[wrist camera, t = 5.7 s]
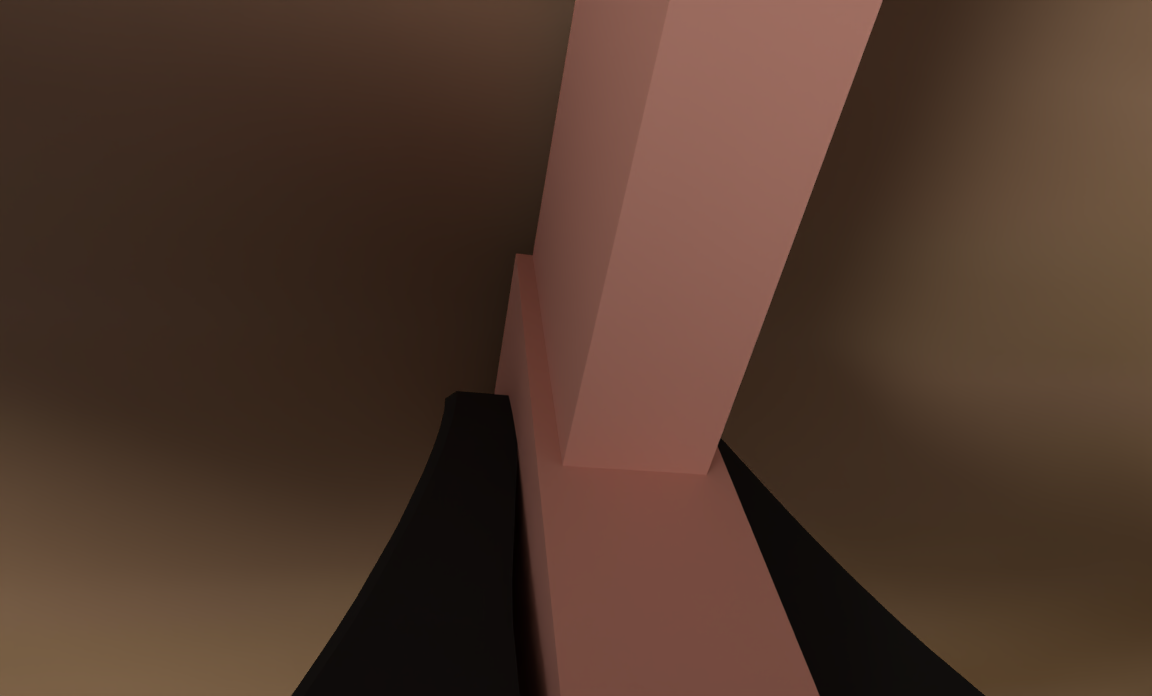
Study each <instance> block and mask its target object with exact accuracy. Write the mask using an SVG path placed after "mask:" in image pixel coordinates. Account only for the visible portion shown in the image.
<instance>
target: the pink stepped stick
mask: <svg viewBox="0 0 1152 696" xmlns="http://www.w3.org/2000/svg"><path fill="white" fill-rule="evenodd" d="M882 1H883V0H575V6H574V12H573V18H572V24H571V30H570V36H569V42H568V48H567V54H566V59H565V65H564V71H563V77H562V83H561V89H560V95H559V101H558V107H557V113H556V119H555V125H554V131H553V137H552V143H551V149H550V155H549V161H548V167H547V173H546V179H545V185H544V191H543V196H542V202H541V208H540V214H539V220H538V226H537V232H536V238H535V244H534V250H533V255H526V254H518V253H516V257H515V263H514V270H513V276H512V283H511V289H510V296H509V302H508V309H507V315H506V322H505V328H504V335H503V341H502V348H501V354H500V360H499V367H498V373H497V380H496V386H495V393H494V394H498V395H509V399H510V404H511V408H512V413H513V419H514V425H515V431H516V438H517V445H518V446H517V473H516V499H515V524H514V549H513V574H512V600H513V629H514V639H515V650H516V660H517V671H518V681H519V691H520V696H820V695H819V693H818V691H817V688H816V686H815V683H814V681H813V678H812V676H811V673H810V671H809V669H808V666H807V664H806V661H805V659H804V656H803V654H802V651H801V649H800V647H799V644H798V642H797V639H796V637H795V634H794V632H793V629H792V627H791V625H790V622H789V620H788V617H787V615H786V612H785V610H784V607H783V605H782V603H781V600H780V598H779V595H778V593H777V590H776V588H775V585H774V583H773V581H772V578H771V576H770V573H769V571H768V568H767V566H766V563H765V561H764V559H763V556H762V554H761V551H760V549H759V546H758V544H757V541H756V539H755V537H754V534H753V532H752V529H751V527H750V524H749V522H748V519H747V517H746V515H745V512H744V510H743V507H742V505H741V502H740V500H739V497H738V495H737V493H736V490H735V488H734V485H733V483H732V480H731V478H730V475H729V473H728V471H727V468H726V466H725V463H724V461H723V458H722V456H721V453H720V451H719V449H718V443H719V440H720V438H721V435H722V432H723V430H724V427H725V424H726V422H727V419H728V416H729V413H730V411H731V408H732V405H733V403H734V400H735V397H736V395H737V392H738V389H739V387H740V384H741V381H742V378H743V376H744V373H745V370H746V368H747V365H748V362H749V360H750V357H751V354H752V351H753V349H754V346H755V343H756V341H757V338H758V335H759V333H760V330H761V327H762V325H763V322H764V319H765V316H766V314H767V311H768V308H769V306H770V303H771V300H772V298H773V295H774V292H775V289H776V287H777V284H778V281H779V279H780V276H781V273H782V271H783V268H784V265H785V262H786V260H787V257H788V254H789V252H790V249H791V246H792V244H793V241H794V238H795V236H796V233H797V230H798V227H799V225H800V222H801V219H802V217H803V214H804V211H805V209H806V206H807V203H808V200H809V198H810V195H811V192H812V190H813V187H814V184H815V182H816V179H817V176H818V174H819V171H820V168H821V165H822V163H823V160H824V157H825V155H826V152H827V149H828V147H829V144H830V141H831V138H832V136H833V133H834V130H835V128H836V125H837V122H838V120H839V117H840V114H841V111H842V109H843V106H844V103H845V101H846V98H847V95H848V93H849V90H850V87H851V85H852V82H853V79H854V76H855V74H856V71H857V68H858V66H859V63H860V60H861V58H862V55H863V52H864V49H865V47H866V44H867V41H868V39H869V36H870V33H871V31H872V28H873V25H874V23H875V20H876V17H877V14H878V12H879V9H880V6H881V4H882Z"/></svg>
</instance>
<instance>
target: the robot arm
mask: <svg viewBox="0 0 1152 696" xmlns="http://www.w3.org/2000/svg"><path fill="white" fill-rule="evenodd" d="M517 446H518V445H517V438H516V431H515V425H514V419H513V413H512V408H511V404H510V399H509V395H498V394H486V393H473V392H460V391H456V392H455V393H453V394H452V395H450V396H449V397H447V398H446V399H445V407H444V414H443V418H442V422H441V426H440V429H439V433H438V436H437V439H436V441H435V444H434V447H433V450H432V452H431V455H430V457H429V460H428V462H427V464H426V467H425V469H424V472H423V474H422V476H421V478H420V480H419V482H418V485H417V487H416V489H415V491H414V493H413V495H412V497H411V499H410V501H409V503H408V505H407V507H406V509H405V512H404V514H403V516H402V518H401V520H400V522H399V524H398V526H397V528H396V529H395V531H394V533H393V535H392V537H391V539H390V540H389V542H388V544H387V546H386V547H385V549H384V551H383V553H382V554H381V556H380V558H379V559H378V561H377V563H376V565H375V566H374V568H373V570H372V572H371V573H370V575H369V577H368V579H367V580H366V582H365V584H364V585H363V587H362V589H361V591H360V592H359V594H358V596H357V597H356V599H355V601H354V602H353V604H352V606H351V607H350V609H349V610H348V612H347V613H346V615H345V617H344V618H343V620H342V621H341V623H340V624H339V626H338V628H337V629H336V631H335V632H334V634H333V635H332V637H331V638H330V640H329V641H328V643H327V644H326V646H325V647H324V649H323V651H322V652H321V653H320V655H319V656H318V658H317V659H316V661H315V662H314V664H313V665H312V667H311V668H310V669H309V671H308V672H307V674H306V675H305V677H304V678H303V680H302V681H301V683H300V684H299V686H298V687H297V688H296V690H295V691H294V693H293V694H292V696H520V691H519V681H518V671H517V660H516V650H515V639H514V629H513V600H512V574H513V549H514V524H515V499H516V473H517ZM718 449H719V451H720V453H721V456H722V458H723V461H724V463H725V466H726V468H727V471H728V473H729V475H730V478H731V480H732V483H733V485H734V488H735V490H736V493H737V495H738V497H739V500H740V502H741V505H742V507H743V510H744V512H745V515H746V517H747V519H748V522H749V524H750V527H751V529H752V532H753V534H754V537H755V539H756V541H757V544H758V546H759V549H760V551H761V554H762V556H763V559H764V561H765V563H766V566H767V568H768V571H769V573H770V576H771V578H772V581H773V583H774V585H775V588H776V590H777V593H778V595H779V598H780V600H781V603H782V605H783V607H784V610H785V612H786V615H787V617H788V620H789V622H790V625H791V627H792V629H793V632H794V634H795V637H796V639H797V642H798V644H799V647H800V649H801V651H802V654H803V656H804V659H805V661H806V664H807V666H808V669H809V671H810V673H811V676H812V678H813V681H814V683H815V686H816V688H817V691H818V693H819V695H820V696H985V695H984V694H982V693H981V692H980V691H979V690H978V689H977V688H975V687H974V686H973V685H972V684H971V683H969V682H968V681H967V680H966V679H965V678H963V677H962V676H961V675H960V674H959V673H957V672H956V671H955V670H954V669H953V668H952V667H950V666H949V665H948V664H947V663H946V662H944V661H943V660H942V659H941V658H940V657H938V656H937V655H936V654H935V653H934V652H933V651H931V650H930V649H929V648H928V647H927V646H926V645H925V644H924V643H922V642H921V641H920V640H919V639H918V638H917V637H916V636H915V635H913V634H912V633H911V632H910V631H909V630H908V629H907V628H906V627H904V626H903V625H902V624H901V623H900V622H899V621H898V620H897V619H896V618H895V617H894V616H893V615H892V614H891V613H889V612H888V611H887V610H886V609H885V608H884V607H883V606H882V605H881V604H880V603H879V602H878V601H877V600H876V599H875V598H874V597H873V596H872V595H871V594H870V593H868V592H867V591H866V590H865V589H864V588H863V587H862V586H861V585H860V584H859V583H858V582H857V581H856V580H855V579H854V578H853V577H852V576H851V575H850V574H849V573H848V572H847V571H846V570H845V569H844V568H843V567H842V566H841V565H840V564H839V563H838V562H837V561H836V560H835V559H834V558H833V557H832V556H831V555H830V554H829V553H828V552H827V551H826V550H825V549H824V548H823V547H822V546H821V545H820V544H819V543H818V542H817V541H816V540H815V539H814V538H813V537H812V536H811V535H810V534H809V533H808V532H807V531H806V530H805V529H804V528H803V527H802V526H801V525H800V524H799V523H798V521H797V520H796V519H795V518H794V517H793V516H792V515H791V514H790V513H789V512H788V511H787V510H786V509H785V508H784V507H783V506H782V504H781V503H780V502H779V501H778V500H777V499H776V498H775V497H774V496H773V495H772V494H771V493H770V492H769V490H768V489H767V488H766V487H765V486H764V485H763V484H762V483H761V482H760V481H759V479H758V478H757V477H756V476H755V475H754V474H753V473H752V472H751V471H750V470H749V469H748V467H747V466H746V465H745V464H744V463H743V462H742V461H741V460H740V459H739V457H738V456H737V455H736V454H735V453H734V452H733V451H732V450H731V449H730V448H729V446H728V445H727V444H726V443H725V442H724V441H723V440H722V439H721V438H720V440H719V443H718Z"/></svg>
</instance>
